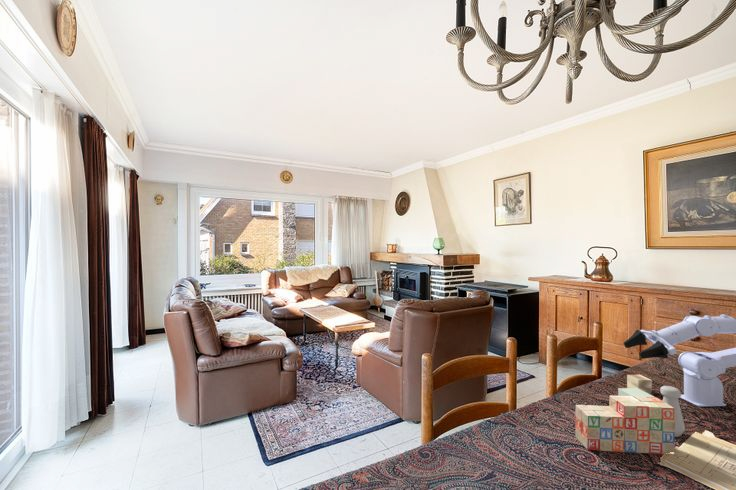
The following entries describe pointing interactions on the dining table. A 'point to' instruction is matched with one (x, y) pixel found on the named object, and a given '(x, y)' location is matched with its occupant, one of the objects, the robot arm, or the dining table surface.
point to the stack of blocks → (627, 425)
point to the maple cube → (639, 383)
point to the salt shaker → (672, 399)
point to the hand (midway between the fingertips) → (632, 350)
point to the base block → (632, 392)
